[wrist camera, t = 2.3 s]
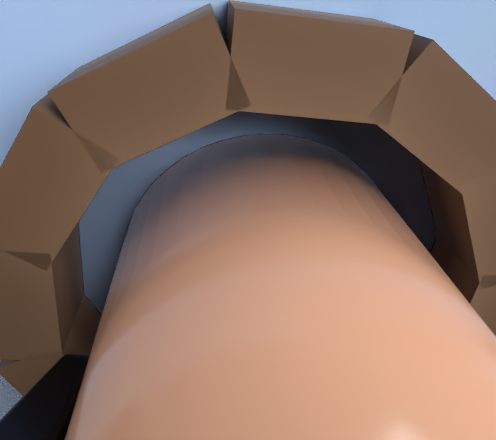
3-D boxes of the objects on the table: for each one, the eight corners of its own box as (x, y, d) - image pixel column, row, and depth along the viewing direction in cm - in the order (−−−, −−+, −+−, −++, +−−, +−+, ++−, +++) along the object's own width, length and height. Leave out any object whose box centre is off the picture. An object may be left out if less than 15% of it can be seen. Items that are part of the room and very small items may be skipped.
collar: (578, 45, 9) (665, 63, 7) (410, 416, 15) (437, 475, 13) (-31, -33, 8) (-101, -34, 6) (41, 415, 13) (17, 482, 12)
